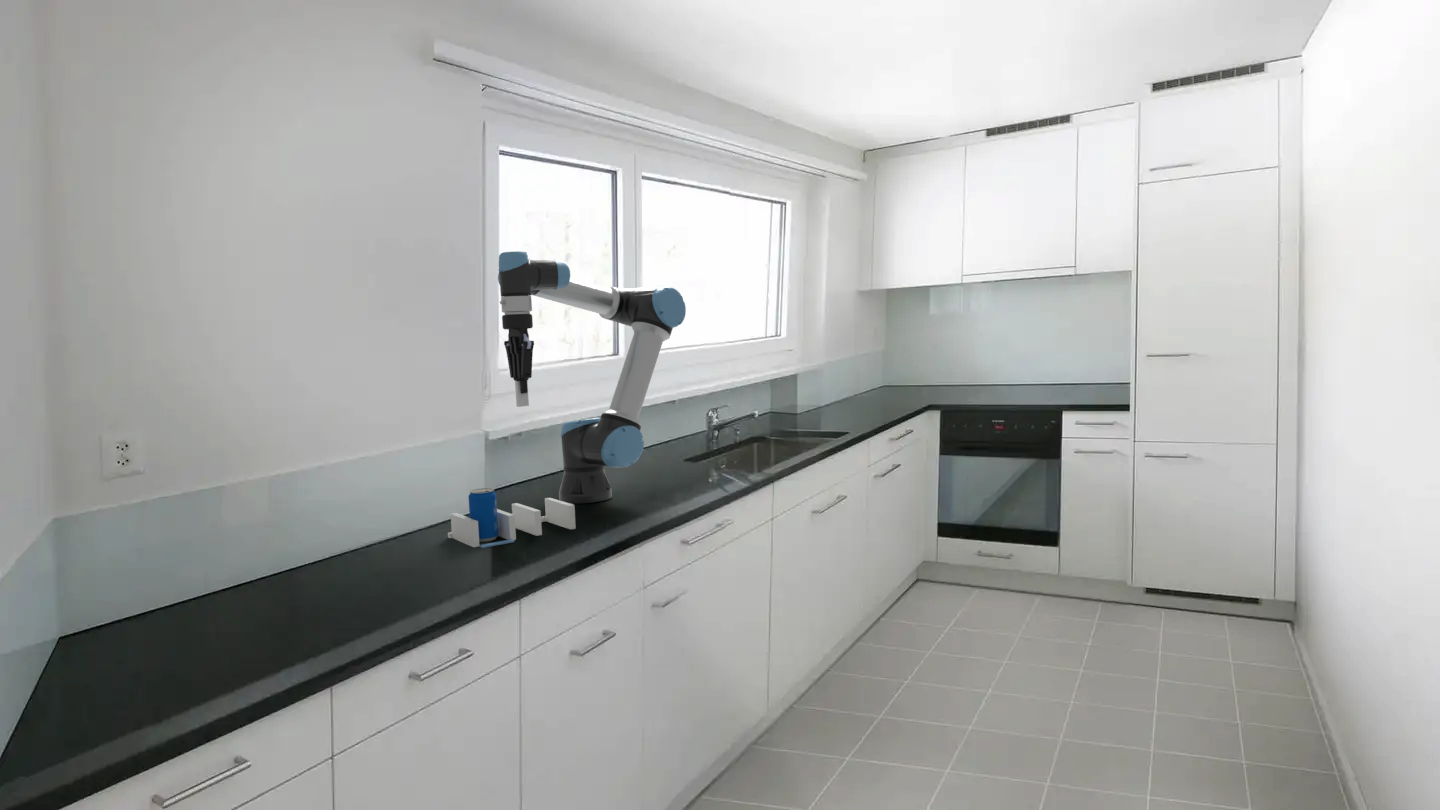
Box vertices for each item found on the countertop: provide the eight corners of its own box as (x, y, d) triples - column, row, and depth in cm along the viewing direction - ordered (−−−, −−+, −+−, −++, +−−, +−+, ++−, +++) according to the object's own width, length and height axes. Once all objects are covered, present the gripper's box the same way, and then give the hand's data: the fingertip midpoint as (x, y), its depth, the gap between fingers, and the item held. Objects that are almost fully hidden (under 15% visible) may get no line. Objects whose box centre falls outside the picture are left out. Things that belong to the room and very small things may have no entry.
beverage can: (491, 542, 230) (488, 492, 229) (466, 542, 232) (463, 492, 230) (503, 536, 237) (500, 487, 235) (478, 536, 238) (475, 487, 237)
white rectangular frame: (551, 519, 254) (550, 496, 253) (578, 528, 242) (576, 504, 242) (448, 537, 237) (446, 513, 237) (470, 547, 226) (469, 522, 225)
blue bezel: (511, 540, 231) (511, 539, 231) (514, 541, 230) (514, 540, 230) (479, 546, 227) (479, 545, 227) (482, 547, 225) (482, 546, 225)
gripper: (492, 314, 248) (498, 406, 251) (514, 313, 238) (520, 408, 240) (519, 313, 253) (525, 403, 255) (541, 312, 242) (547, 406, 245)
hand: (522, 406), depth 248 cm, fingers closed
